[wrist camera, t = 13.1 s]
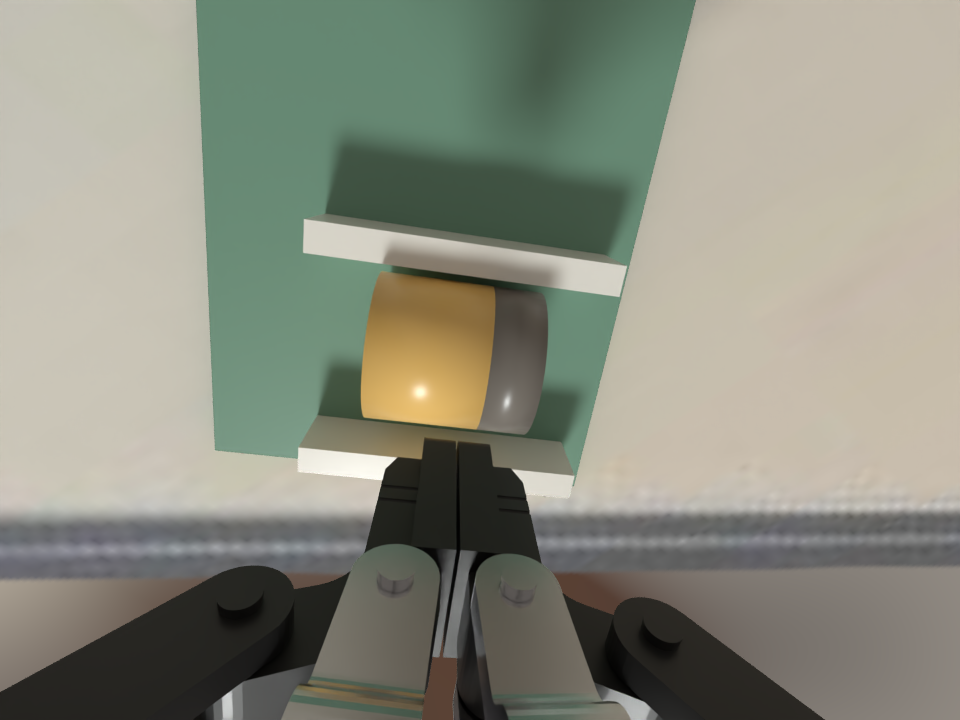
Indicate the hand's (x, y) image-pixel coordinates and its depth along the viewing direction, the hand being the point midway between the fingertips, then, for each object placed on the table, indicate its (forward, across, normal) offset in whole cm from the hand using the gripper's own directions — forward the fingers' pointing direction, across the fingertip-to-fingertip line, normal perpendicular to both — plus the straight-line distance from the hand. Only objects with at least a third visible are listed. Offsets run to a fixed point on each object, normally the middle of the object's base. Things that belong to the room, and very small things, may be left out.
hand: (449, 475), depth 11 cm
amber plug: (+8, 0, 0) cm, 8 cm away
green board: (+9, +2, -4) cm, 10 cm away
